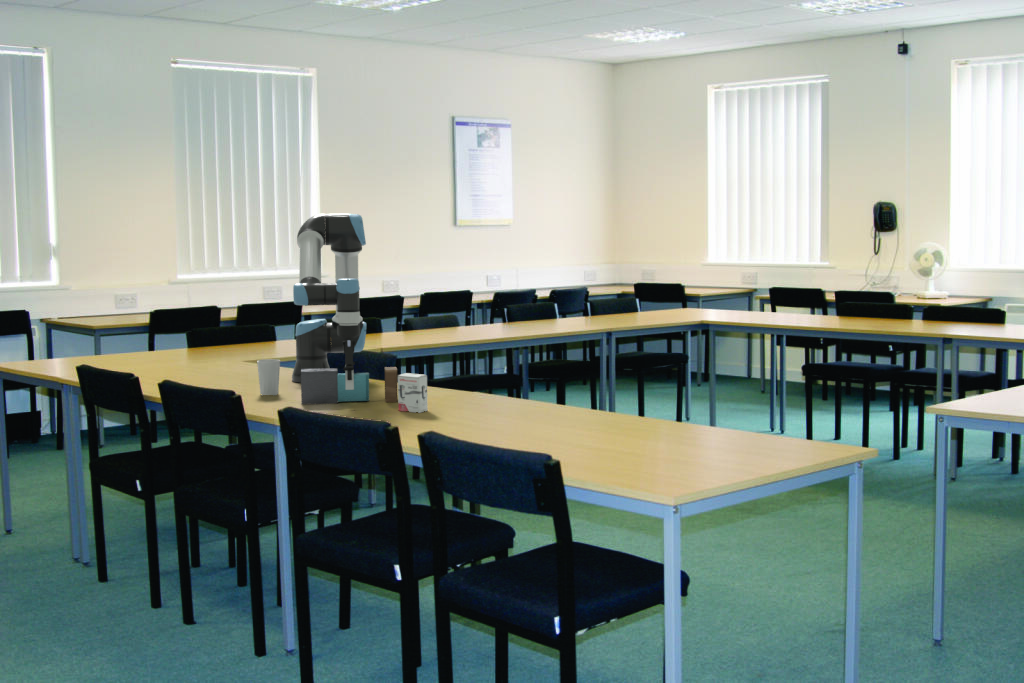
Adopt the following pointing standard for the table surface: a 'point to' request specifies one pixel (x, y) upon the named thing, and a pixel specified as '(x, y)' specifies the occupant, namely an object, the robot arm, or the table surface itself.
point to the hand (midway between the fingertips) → (349, 386)
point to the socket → (391, 384)
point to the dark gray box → (319, 386)
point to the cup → (269, 376)
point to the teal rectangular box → (359, 388)
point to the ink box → (412, 392)
